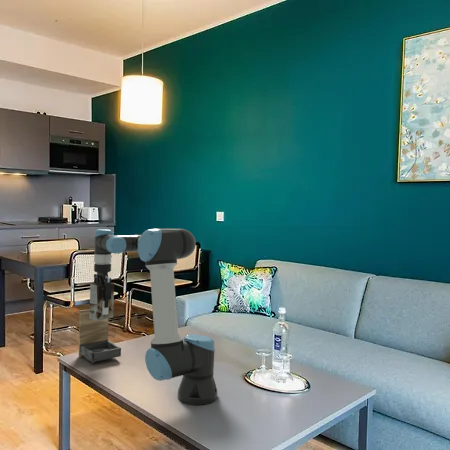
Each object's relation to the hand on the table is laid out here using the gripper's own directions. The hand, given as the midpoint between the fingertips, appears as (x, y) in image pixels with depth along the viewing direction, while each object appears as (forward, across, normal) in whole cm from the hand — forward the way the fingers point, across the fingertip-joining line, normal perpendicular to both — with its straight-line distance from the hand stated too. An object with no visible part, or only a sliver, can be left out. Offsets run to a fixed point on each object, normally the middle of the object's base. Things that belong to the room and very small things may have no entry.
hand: (101, 312), depth 202 cm
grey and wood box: (+22, +1, 0) cm, 22 cm away
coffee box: (+3, 0, 0) cm, 3 cm away
